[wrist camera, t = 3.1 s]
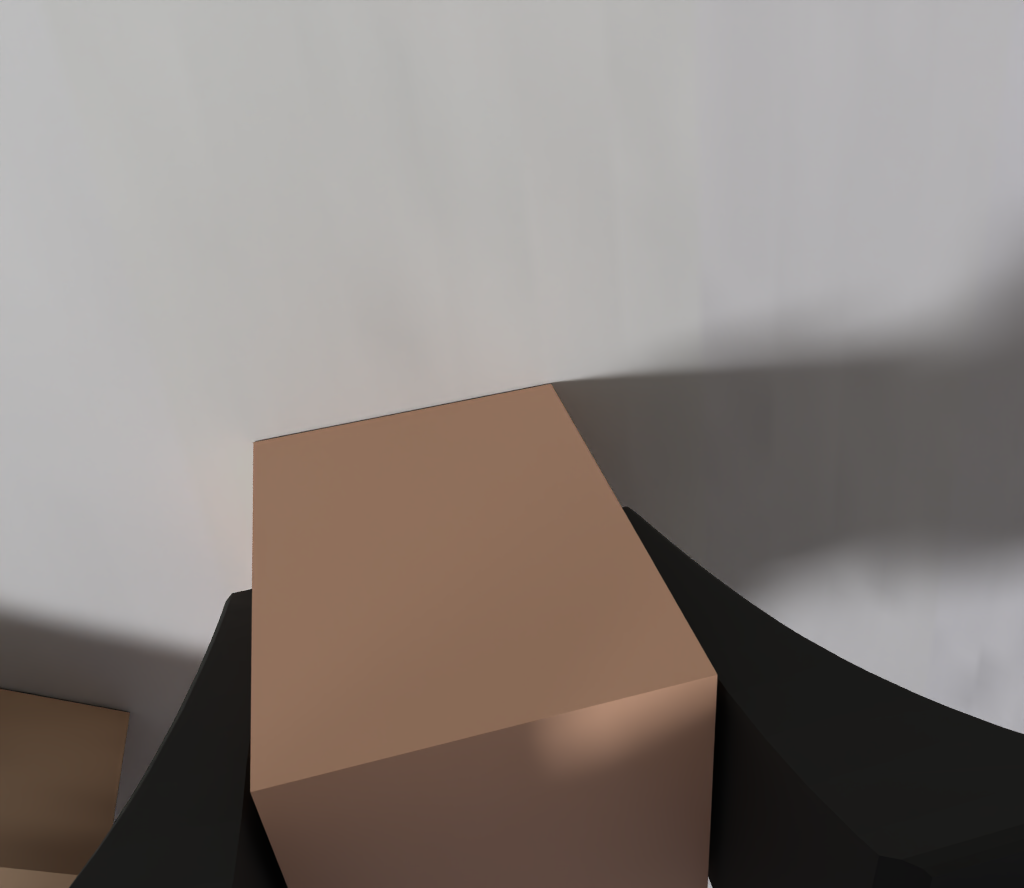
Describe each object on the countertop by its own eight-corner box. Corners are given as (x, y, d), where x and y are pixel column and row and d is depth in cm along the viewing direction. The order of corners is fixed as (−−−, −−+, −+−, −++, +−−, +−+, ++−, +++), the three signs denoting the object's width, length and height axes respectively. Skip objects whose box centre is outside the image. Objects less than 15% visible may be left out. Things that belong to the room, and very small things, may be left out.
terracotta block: (550, 383, 14) (717, 674, 9) (567, 601, 16) (705, 926, 11) (252, 442, 13) (250, 792, 8) (317, 660, 15) (345, 1031, 10)
